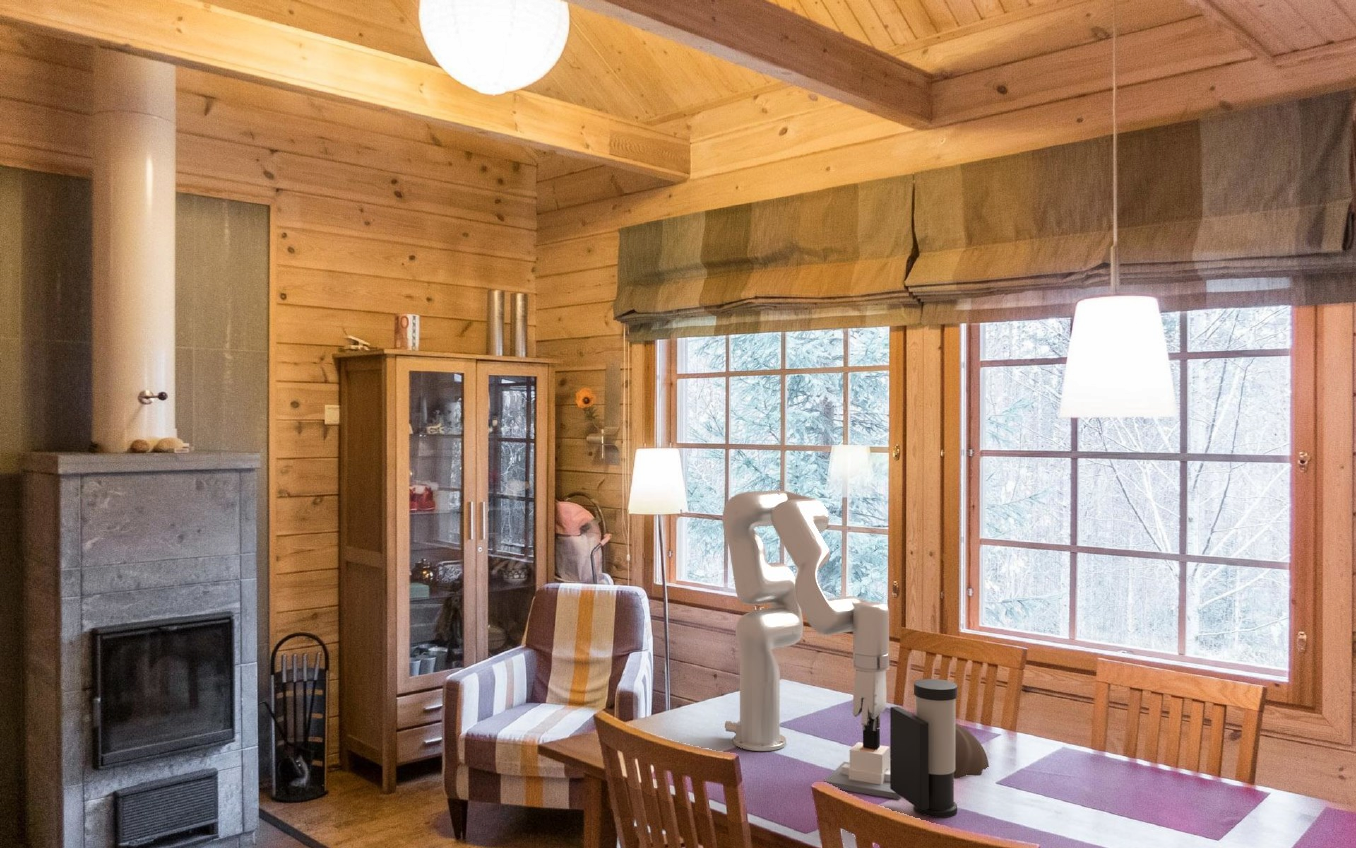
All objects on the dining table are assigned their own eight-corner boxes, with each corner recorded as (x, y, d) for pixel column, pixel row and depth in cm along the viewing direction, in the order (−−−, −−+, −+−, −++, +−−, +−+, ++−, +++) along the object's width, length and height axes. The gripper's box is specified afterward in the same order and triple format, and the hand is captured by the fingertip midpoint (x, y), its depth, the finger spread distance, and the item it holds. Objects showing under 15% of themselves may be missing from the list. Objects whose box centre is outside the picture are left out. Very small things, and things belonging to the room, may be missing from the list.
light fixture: (971, 818, 195) (971, 690, 195) (920, 824, 192) (920, 694, 192) (938, 797, 206) (938, 675, 206) (889, 802, 203) (889, 679, 203)
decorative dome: (987, 783, 215) (988, 736, 215) (893, 773, 221) (893, 727, 221) (990, 755, 233) (990, 712, 233) (902, 747, 240) (902, 704, 240)
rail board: (823, 786, 212) (824, 773, 212) (844, 767, 224) (844, 754, 224) (899, 799, 205) (899, 786, 205) (916, 778, 217) (916, 765, 217)
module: (848, 779, 213) (848, 749, 213) (858, 769, 219) (858, 740, 219) (881, 784, 210) (881, 754, 210) (890, 774, 216) (890, 745, 216)
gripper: (863, 652, 223) (864, 736, 223) (843, 666, 210) (843, 755, 209) (897, 656, 220) (897, 740, 219) (879, 670, 206) (879, 760, 206)
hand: (871, 747), depth 214 cm, fingers closed
